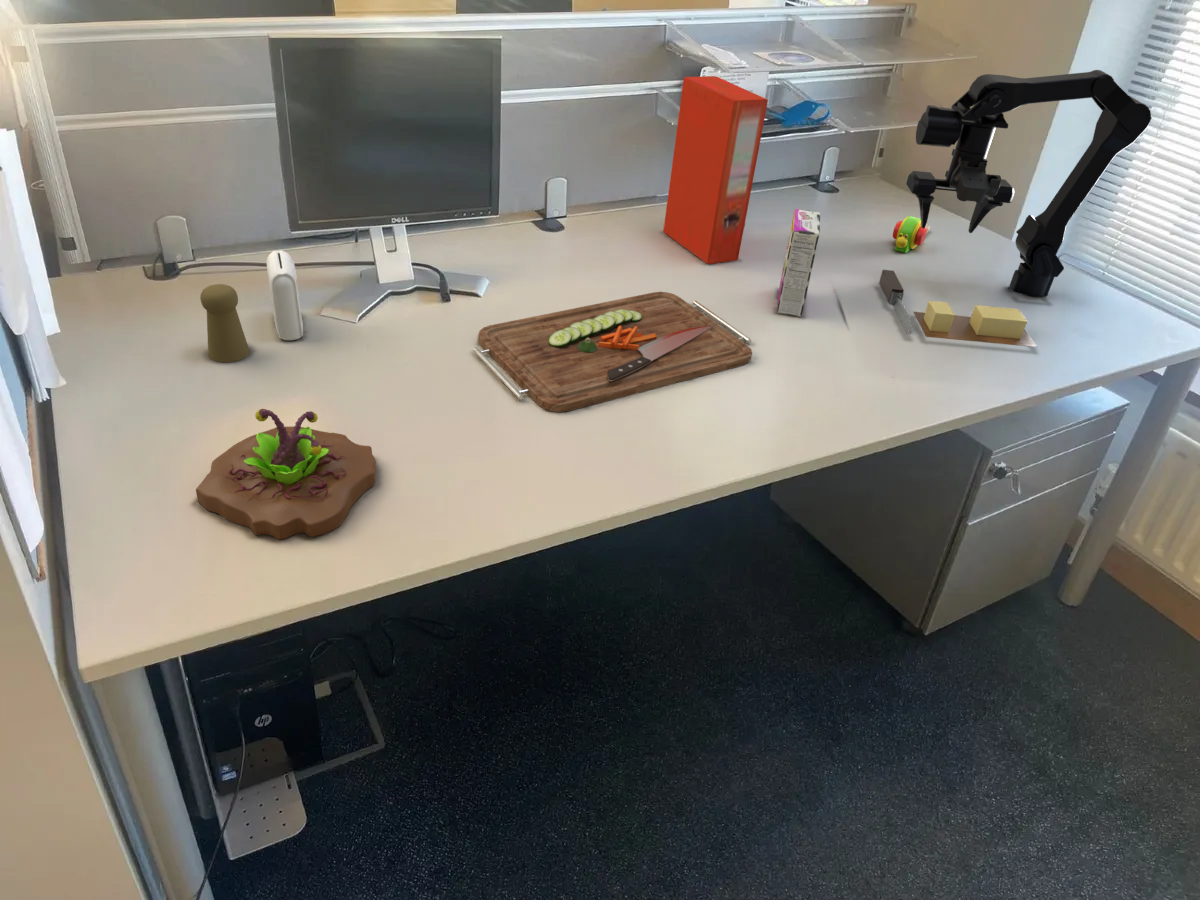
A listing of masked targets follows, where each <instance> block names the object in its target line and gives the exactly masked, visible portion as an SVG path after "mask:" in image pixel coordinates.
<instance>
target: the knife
mask: <svg viewBox="0 0 1200 900" xmlns="http://www.w3.org/2000/svg"><path fill="white" fill-rule="evenodd" d="M878 284H879V286H880V288H881V291H882V292H883V295H884V297H885V298H886V300H887V303H888V304H889V305H890V306H893V307H894V309H895V311H896V313H897V315H898V317H899V320H900V322H901V323H902V326H903V328H904V330H905V331H906V335H911V334H912V332H913V328H914V323H913V321H912V318H911V317H910V315H909V313H908V311H907V309H906V307H905V305H904V303H903V298H904V291H905V289H904V287H903V285H902V284H901V281H900V280H899V278H898V276H897V274H896V273H895V270H891V269H882V271H881V275H880V278H879V281H878Z"/></svg>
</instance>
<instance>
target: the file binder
mask: <svg viewBox="0 0 1200 900" xmlns="http://www.w3.org/2000/svg"><path fill="white" fill-rule="evenodd" d="M768 102H769V99H767V98H765V97H763V96H760V95H758V94H756V93H755V92H752V91H750V90H748V89H745V88H743V87H741V86H739V85H736V84H734V83H732V82H730V81H728V80H726V79H724V78H721V77H718V76H717V75H707V76H706V75H705V76H684V77H683V82H682V87H681V96H680V104H679V112H678V119H677V127H676V133H675V141H674V148H673V155H672V156H673V157H672V163H671V170H670V171H671V172H670V178H669V185H668V193H667V202H666V209H665V216H664V222H663V223H664V224H663V230H662V232H663V233H665V235H667V236H668V237H669V238H671V239H672V240H674V241H675V242H677V243H678V244H679V245H681V246H682V247H683V248H685V249H686V250H687V251H689V252H690V253H692V254H693V255H695V256H696V257H698V258H699V259H700V260H701V261H703V262H704V263H706V264H708V265H712V264H713V265H714V264H721V263H727V262H734V261H738V259H739V257H740V252H741V247H742V241H743V236H744V230H745V227H746V226H745V225H746V221H747V220H746V219H747V214H748V209H749V204H750V198H751V193H752V188H753V182H754V177H755V172H756V168H757V167H756V166H757V161H758V156H759V150H760V145H761V139H762V135H763V134H762V133H763V130H764V129H763V128H764V123H765V118H766V112H767V107H768Z"/></svg>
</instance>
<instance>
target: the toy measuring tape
mask: <svg viewBox="0 0 1200 900" xmlns="http://www.w3.org/2000/svg"><path fill="white" fill-rule="evenodd" d="M930 229H931V225H928V224H926V226H925V228H924V229H923V228H922V227H921V218H919V217H915V216H911V215H910V216H906V217H904V218H903V220H899V221H897V222H896V224H895V226H894V228H893V232H892V238H893V239H894V240H895V247H894V251H897V252H900V253H904V254H907V253H908V252H909V251H910V250H914V249H916V248H917V247H918V246H922V245H923V243H924V242H925V239H926V237H927V234H928V232H930Z"/></svg>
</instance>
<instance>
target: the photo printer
mask: <svg viewBox="0 0 1200 900" xmlns="http://www.w3.org/2000/svg"><path fill="white" fill-rule="evenodd" d="M266 272H267V280H268V286H269V287H268V288H269V293H270V294H269V295H270V302H271V308H272V315H273V319H274V325H275V329H276V332H277V336H278V337H279V339H282V340H283V341H295V340H298V339H300V338H301V337H303V335H304V324H303V317H302V309H301V303H300V302H301V301H300V294H299V286H298V277H297V271H296V265H295V262H294V259H293V258H292V256H291V255H290V253H288V252H287V251H285V250H283V249H279V250H273V251H272V252H270V253H269V255H268V256H267V258H266Z"/></svg>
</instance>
